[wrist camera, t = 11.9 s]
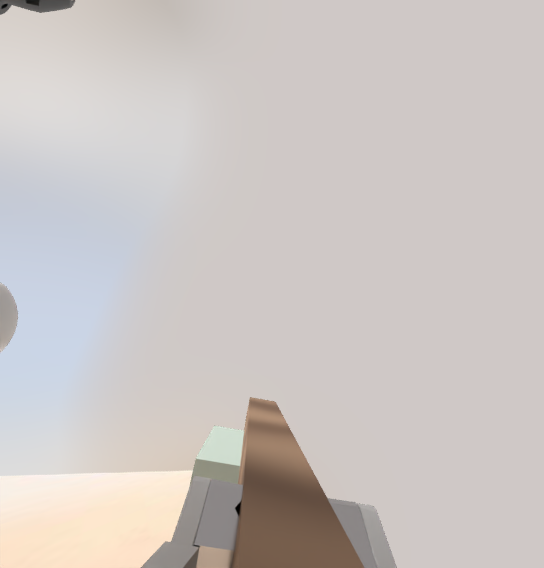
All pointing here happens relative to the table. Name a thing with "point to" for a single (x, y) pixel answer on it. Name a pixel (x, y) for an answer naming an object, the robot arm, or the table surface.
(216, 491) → the robot arm
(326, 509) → the rod
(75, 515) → the table surface
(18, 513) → the table surface
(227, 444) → the pedestal
